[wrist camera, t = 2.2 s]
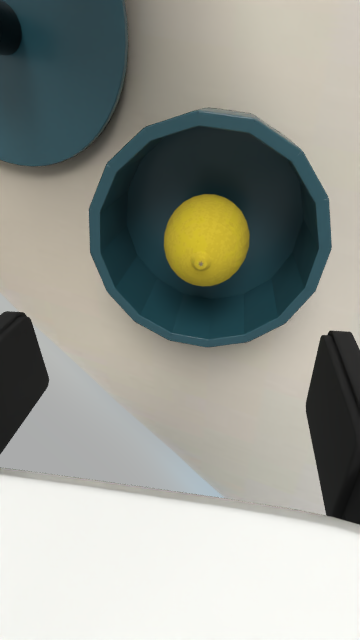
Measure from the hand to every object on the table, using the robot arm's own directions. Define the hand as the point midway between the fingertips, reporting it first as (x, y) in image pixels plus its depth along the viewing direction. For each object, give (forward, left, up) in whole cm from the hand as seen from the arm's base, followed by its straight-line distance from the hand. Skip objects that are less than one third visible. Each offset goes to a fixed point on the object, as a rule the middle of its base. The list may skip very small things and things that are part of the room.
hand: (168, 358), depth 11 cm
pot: (0, -1, -18) cm, 18 cm away
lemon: (0, -1, -18) cm, 18 cm away
